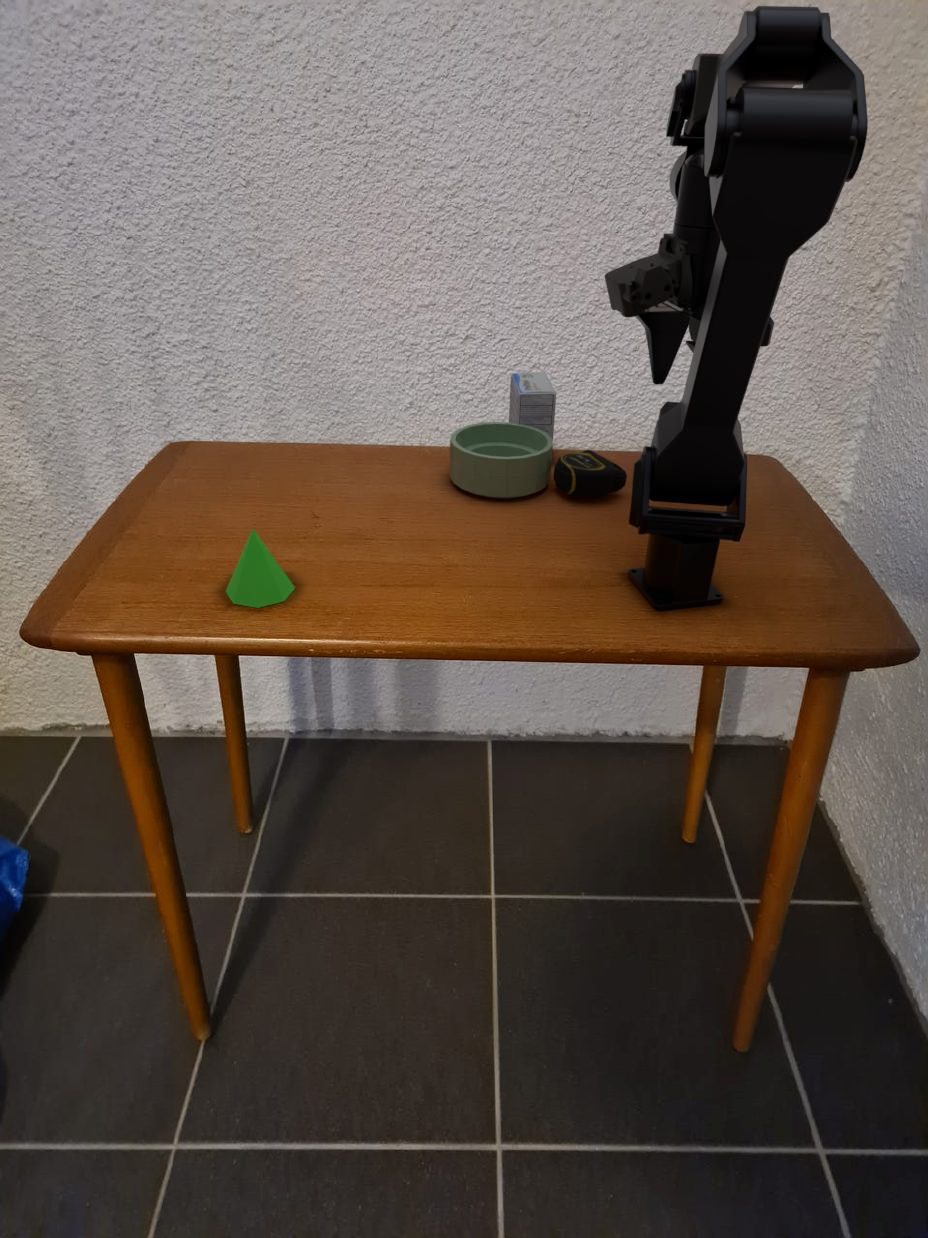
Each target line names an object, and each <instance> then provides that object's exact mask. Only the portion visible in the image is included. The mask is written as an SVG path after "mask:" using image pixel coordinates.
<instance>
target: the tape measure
mask: <svg viewBox="0 0 928 1238" xmlns="http://www.w3.org/2000/svg"><path fill="white" fill-rule="evenodd" d="M552 478H553V481H554V485H555V486H556V488H557V489H558V490H559V491H560V492H563V493H565V495H569V496H570V497H574V498H577V499H600V498H603V497H605V496H606V497H607V496H608V495H610V494H614V493H616V492H619V491H621V490H622V489H623V488H624V487H626V485H627V484H626V483H627V478H628V475H627V472H626V471H625V469H623V468H622V467H621V466H620V465H618V464H617V463H615V462H613V461H611V460H610V459H607V458H606V457H604V456H603V455H600V454H598V453H597V452H595V451H593V450H590V449H587V450H586V449H585V450H583V451H571V452H567V453H564V454H562V455H561V456H559V458H557V460H556V464H555V465H554V469H553V477H552Z"/></svg>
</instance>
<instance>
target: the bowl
mask: <svg viewBox="0 0 928 1238" xmlns="http://www.w3.org/2000/svg"><path fill="white" fill-rule="evenodd" d="M553 447H554V438H553V439H552V438H551V437H550V436H549V435H548V434H547V433H546V432H544V431H542V430H540V429H538V428H534V427H531V426H528V425H523V424H517V423H510V422H509V421H506V422H505V421H486V422H485V421H484V422H477V423H472V424H467V425H465V426H463V427H459V428H457V429H456V430H454V432H452V433H451V435H450V439H449V478H450V479H451V482H452V483H453V484H454V485H455V486H456V487H458V488H460V489H461V490H463V491H465V492H469V493H471V494H473V495H475V496H479V497H485V498H489V499H518V498H521V497H526V496H528V495H529V496H530V495H533V494H536V493H538V492H540V491H542V490H544V489H545V488H546V487H547V486H548V484H550V482H551V471H552V470H551V469H552V462H553V461H552V458H553V449H554V448H553Z"/></svg>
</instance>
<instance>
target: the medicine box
mask: <svg viewBox="0 0 928 1238" xmlns="http://www.w3.org/2000/svg"><path fill="white" fill-rule="evenodd" d="M510 375H511V376H510V385H509V389H510V390H509V408H508V409H509V410H508V422H510V423H517V424H523V425H528V426H531V427H534V428H538V429H540V430H542V431H544V432H546V433H547V434H548V435H549V436H550V437H551V438H552V439H553V440H554V433H555V432H554V431H555V416H556V403H557V392H556V390H555V388H554V386H553V385H552V382H551V380H550V379H549V377H548V375H547V373H546V372H532V371H531V372H514V373H513V372H512V373H511V374H510Z"/></svg>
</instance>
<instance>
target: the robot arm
mask: <svg viewBox="0 0 928 1238" xmlns="http://www.w3.org/2000/svg"><path fill="white" fill-rule="evenodd" d="M831 26H832V25H831V16H830V12H821V10H820V8H819V6H788V5H787V6H785V5H784V6H783V5H781V6H780V5H757V6H756V7H755V8H754V9H753V10H745V11H744V12H743V14H742V17H741V20H740V24H739V27H738V30H737V34H736V36H735V37H734V39H733V40H732V41H731V42H730V44H729V45H728V46H727V47H726V49H725V50H724V51H723V53H698V54H697V55H696V56H695V57H694V59H693V63H692V66H691V69H684V70H683V71H684V72H682V73H681V78H680V81H679V82H678V83H677V84H676V85H675V87H674V89H673V90H674V91H673V94H672V98H671V99H672V100H671V104H670V109H669V114H668V118H667V121H666V122H667V123H666V131H665V133H666V134H665V138H670V139H669V146H671V147H685V148H686V149H685V150H684V151H683V152H682V153H681V154H680V155H679V156H678V157H677V159H676V160H675V162H674V163H673V166H672V168H671V170H670V174H669V185H668V186H669V190H670V194H671V196H672V198H673V200H674V201H675V202H676V208H675V209H676V210H675V214H674V215H675V216H674V222H673V229H672V233H670V232H669V233H663V237H661V238H660V240H659V243H658V244H659V245H658V250H657V253H653V254H651V255H648V256H644V257H641V258H638V259H636V260H634V261H631V262H629V263H627V264H624V265H621V266H619V267H617V268H613V269H612V270H610V271H608V272H606V273H605V274H604V279H605V286H606V291H607V294H608V299H609V304H610V309H611V310H612V311H617V312H618V313H620V314H621V316H622V317H624V318H634V317H635V319H637V321H638V322H639V323H640V324H641V325H642V326H643V328H644V333H645V339H646V344H647V351H648V358H649V365H650V371H651V379H652V384H654V385H663V384H665V382H666V380H667V377H668V376H669V374H670V372H671V369H672V367H673V365H674V362H675V361H676V360H675V359H676V358H677V354H678V352H679V350H680V347H681V346H682V343H683V340H684V338H685V335H686V333H687V331H688V332H689V337H690V340H685V344H686V346H687V347H688V348H689V350H690V351H691V353H692V357H691V361H690V365H689V370H688V374H687V378H686V381H685V387H684V390H683V395H682V398H681V400H680V401H666V402H665V403H664V404H663V405H662V406H661V408H660V409H659V413H658V418H657V421H656V424H655V428H654V432H653V436H652V439H651V443H650V445H649V446H648V445H644V447H643V449H642V452H641V454H640V456H639V459H637V460H636V461H635V462H634V464H633V474H632V485H631V497H630V498H631V499H630V507H629V508H630V509H629V514H628V525H630V526H632V527H634V528H637V534H638V535H643V536H644V535H648V541H647V547H646V555H645V560H644V567H636V568H635V567H634V568H629V569H628V572H627V576H628V578H629V579H630V580H631V581H632V582H633V584H634V585H635V586H636V587H637V589H638V590H639V591H640V592H641V593H642V594H643V596H644V597H645V598H646V600H647V601H648V602H649V604H651V606H652V607H653V608H654V609H656V610H669V609H678V608H686V607H695V606H696V607H697V606H705V605H712V604H721V603H723V601H724V598H725V597H724V594H722V592H720V591H719V590H718V588H717V587H716V586H715V584H713V583H712V580H713V576H714V571H715V566H716V563H717V562H716V561H717V558H718V554H719V553H718V552H719V548H720V543H721V540H725V541H732V542H736V543H740V541H741V538H742V536H743V534H744V530H745V528H746V520H747V518H746V516H747V490H748V489H747V486H748V485H747V483H748V478H747V477H748V456H747V453H746V452H745V451H744V442H743V432H742V431H743V430H742V424H741V422H740V420H739V415H740V412H741V408H742V405H743V402H744V400H745V399H744V398H745V396H746V393H747V389H748V386H749V384H750V381H751V378H752V374H753V371H754V367H755V365H756V361H757V358H758V356H759V352H760V349H761V347H769V346H770V344H771V340H772V335H773V331H774V326H775V321H774V319H773V318H772V317H771V315H772V312H773V308H774V306H775V302H776V299H777V295H778V292H779V289H780V286H781V283H782V280H783V277H784V274H785V270H786V267H787V264H788V262H789V259H790V257H792V255H794V254H795V253H796V252H797V251H798V250H800V249H801V248H802V247H803V246H804V245H805V244H806V243H807V242H809V240H811V239H812V238H813V237H814V236H815V235H816V234H817V233H818V232H819V231H821V230H823V228H824V227H825V226H827V224H828V223H829V222H830V220H831V217H832V216H833V212H834V210H835V208H836V205H837V203H838V200H839V198H840V196H841V193H842V191H843V188H844V186H845V184H846V183H850V181H852V180H853V179H854V177H855V175H856V173H857V172H858V170H859V167H860V164H861V161H862V159H863V154H864V151H865V147H866V143H867V137H868V126H869V125H868V121H869V119H868V108H867V107H868V105H867V95H866V84H865V74H864V72H863V71H862V69H861V68H860V67H859V66H858V65H857V63H855V61H853V59H852V58H851V57H850V56H849V55H848V54H847V53H846V52H845V50H843V49H842V47H841V46H840V45H839V44H838V43H837V42H836V41H835V40H834V39H833V38H832V27H831ZM795 86H802V87H795ZM682 131H683V134H682ZM650 501H651V502H656V503H658V502H659V503H672V504H685V505H686V504H687V505H699V506H713V507H726V509H725V510H722V511H721V510H708V509H696V508H685V507H684V508H682V507H670V506H669V507H668V506H656V505H655V506H654V505H650Z"/></svg>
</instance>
